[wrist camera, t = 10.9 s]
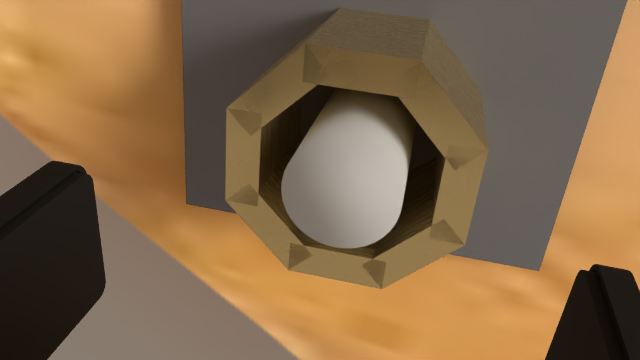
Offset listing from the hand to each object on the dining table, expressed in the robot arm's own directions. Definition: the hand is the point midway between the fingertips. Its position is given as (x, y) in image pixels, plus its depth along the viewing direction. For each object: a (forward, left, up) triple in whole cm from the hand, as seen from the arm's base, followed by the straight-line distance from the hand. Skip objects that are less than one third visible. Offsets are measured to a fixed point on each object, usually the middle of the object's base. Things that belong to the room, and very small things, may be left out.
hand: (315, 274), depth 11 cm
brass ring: (+1, 0, -10) cm, 10 cm away
